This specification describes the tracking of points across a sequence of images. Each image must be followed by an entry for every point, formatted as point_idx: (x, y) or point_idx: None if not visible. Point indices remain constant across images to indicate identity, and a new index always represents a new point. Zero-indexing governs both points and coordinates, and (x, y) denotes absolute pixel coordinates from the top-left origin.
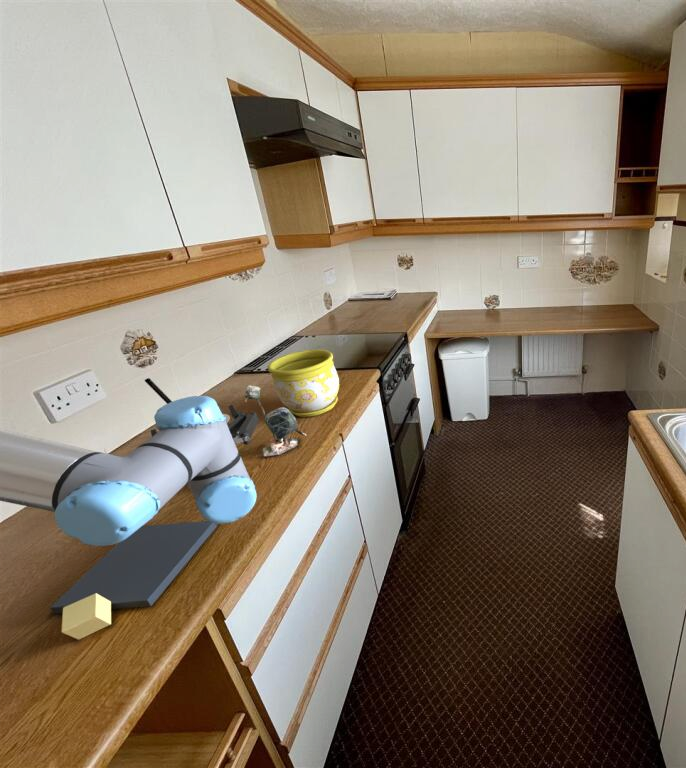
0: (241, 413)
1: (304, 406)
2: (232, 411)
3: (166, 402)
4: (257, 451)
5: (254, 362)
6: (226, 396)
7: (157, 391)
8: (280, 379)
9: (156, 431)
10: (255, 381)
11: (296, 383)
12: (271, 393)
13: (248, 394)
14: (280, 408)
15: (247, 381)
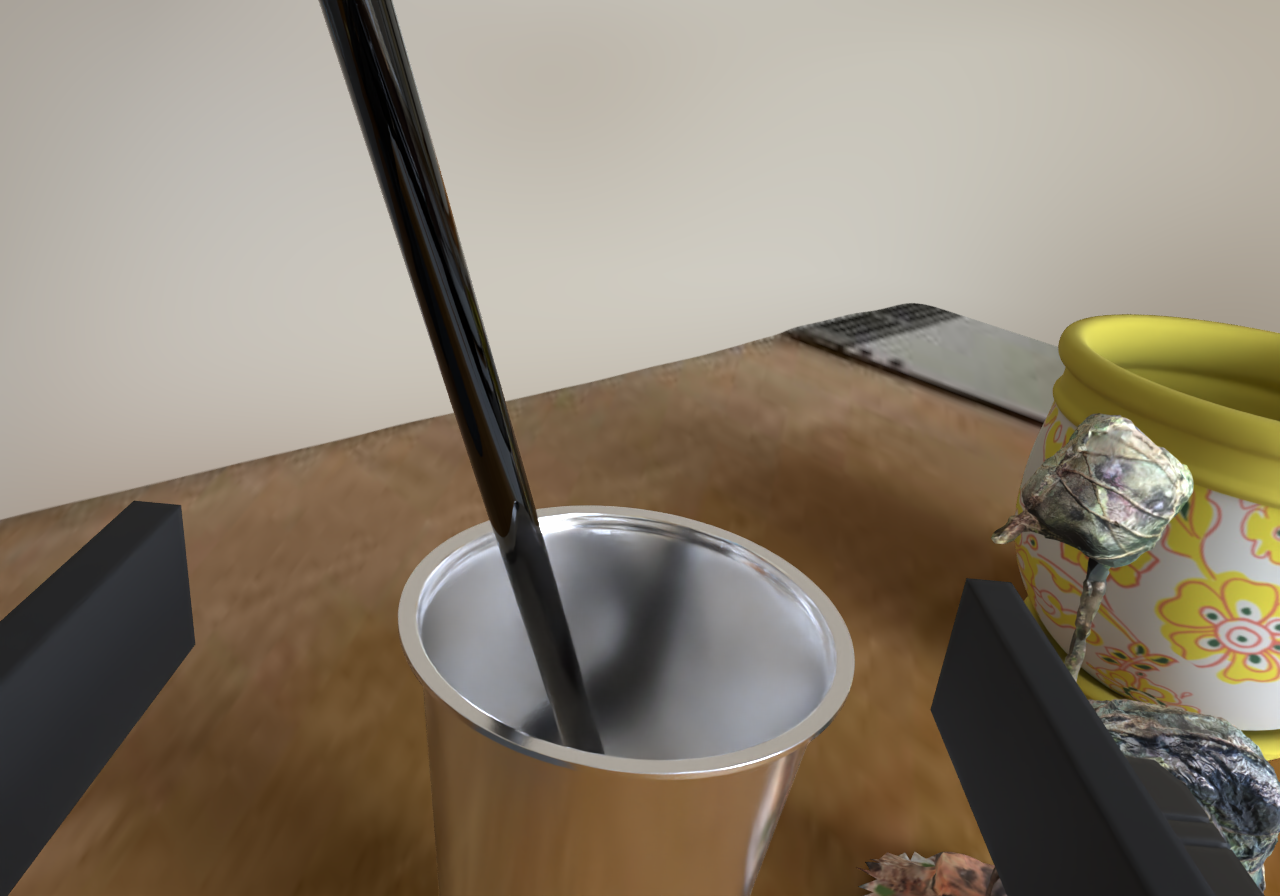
0: (1198, 852)
1: (1177, 680)
2: (1069, 739)
3: (399, 237)
4: (815, 866)
5: (851, 322)
6: (736, 404)
7: (339, 3)
8: None
9: (180, 537)
10: (848, 390)
11: (1241, 520)
12: (909, 471)
13: (1075, 497)
14: (1218, 728)
15: (819, 378)
